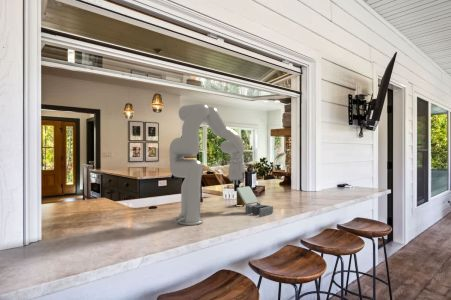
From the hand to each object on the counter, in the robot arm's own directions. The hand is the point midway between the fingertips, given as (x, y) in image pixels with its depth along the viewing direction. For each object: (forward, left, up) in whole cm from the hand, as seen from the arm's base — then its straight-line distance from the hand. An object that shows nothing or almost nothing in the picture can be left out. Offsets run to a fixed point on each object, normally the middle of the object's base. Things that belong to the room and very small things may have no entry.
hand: (236, 190), depth 181 cm
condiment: (+13, +7, -12) cm, 19 cm away
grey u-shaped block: (0, -18, -12) cm, 21 cm away
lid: (0, -9, -2) cm, 9 cm away
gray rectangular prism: (0, -17, -12) cm, 21 cm away
